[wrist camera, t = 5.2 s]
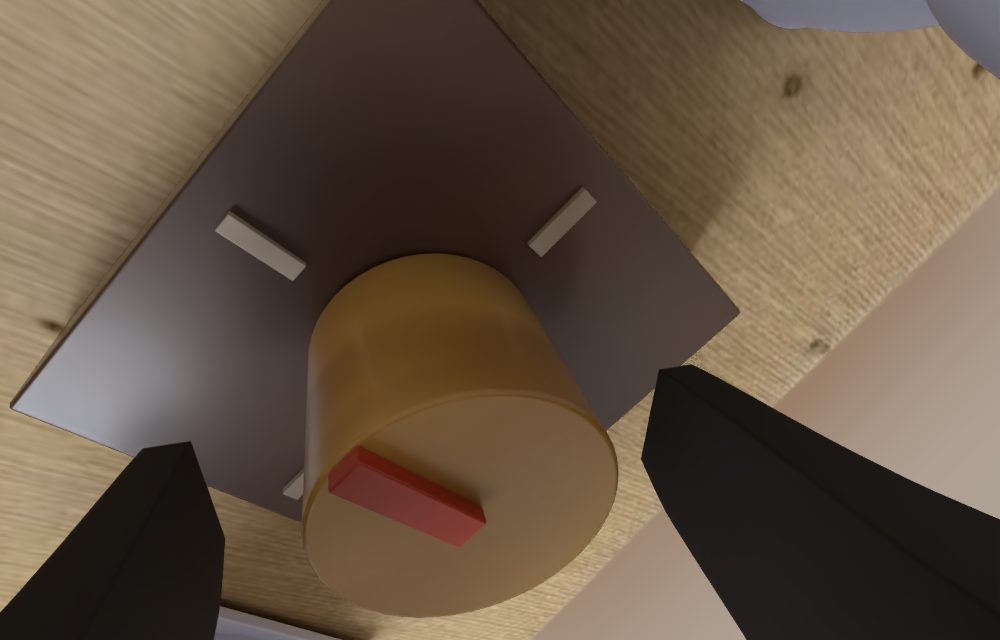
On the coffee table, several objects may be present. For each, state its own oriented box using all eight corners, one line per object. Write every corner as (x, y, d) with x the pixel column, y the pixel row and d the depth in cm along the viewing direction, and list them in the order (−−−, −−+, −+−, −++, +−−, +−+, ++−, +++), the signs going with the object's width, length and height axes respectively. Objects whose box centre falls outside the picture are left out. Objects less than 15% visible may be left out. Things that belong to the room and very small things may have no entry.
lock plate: (425, 503, 17) (440, 583, 15) (61, 330, 12) (1, 415, 9) (684, 264, 15) (747, 316, 13) (385, -79, 10) (403, -93, 7)
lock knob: (577, 335, 12) (686, 492, 8) (435, 470, 13) (478, 663, 9) (416, 202, 9) (472, 343, 6) (257, 379, 10) (224, 591, 7)
